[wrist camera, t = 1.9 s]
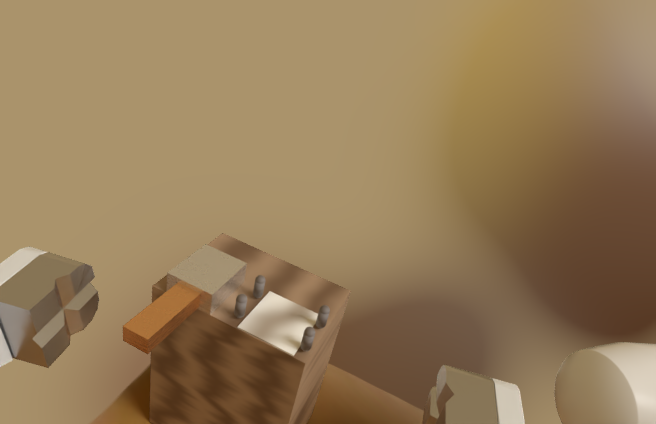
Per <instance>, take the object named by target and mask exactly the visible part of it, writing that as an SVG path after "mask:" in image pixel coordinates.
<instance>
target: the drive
mask: <svg viewBox="0 0 656 424" xmlns="http://www.w3.org/2000/svg"><path fill="white" fill-rule="evenodd" d="M246 266H247V263H246V262H243V261H241V260H239V259H237V258H235V257H233V256H230V255H228V254H226V253H224V252H222V251H220V250H217V249H215V248H213V247H211V246H209V245H207V244H205V245H204V246H203V247H201V248H200V249H198V250H197V251H196V252H194V253H193V254H192V255H190V256H189V257H188V258H187V259H185V260H184V261H183V262H181V263H180V264H178V265H177V266H176V267H174V268H173V269H172V270H170V271H169V272H168V273H167V291H166V292H165V293H164V294H163V295H161V296H160V297H159V298H158V299H156V300H155V301H154V302H153V303H151V304H150V305H149V306H148V307H146V308H145V309H144V310H143V311H141V312H140V313H139V314H138V315H137V316H135V317H134V318H133V319H131V320H130V321H129V322H127V323H126V324H125V325H124V326H123V341H125V342H127V343H129V344H130V345H132V346H134V347H136V348H138V349H139V350H141V351H143V352H145V353H147V354H148V353H149V352H151V351H152V350H153V349H154V348H155V347H156V346H157V345H158V344H159V343H160V342H161V341H162V340H164V339H165V338H166V337H167V336H168V335H169V334H170V333H171V332H172V331H173V330H174V329H176V328H177V327H178V326H179V325H180V324H181V323H182V322H183V321H184V320H185V319H186V318H188V317H189V316H190V315H191V314H192V313H193V312H194V311H195V310H196V309H199V310H201V311H203V312H205V313H207V314H209V315H211V314H212V313H213V312H214V311H215V310H216V309H217V308H218V307H219V306H220V305H221V304H222V303H223V302H224V301H225V300H226V299H227V298H228V297H229V296H230V295H231V294H232V293H233V292H234V291H235V290H236V289H237V288H238V287H239V286H240V285H242V284H243V283H244V279H245V273H246Z"/></svg>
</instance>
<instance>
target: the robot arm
mask: <svg viewBox="0 0 656 424" xmlns="http://www.w3.org/2000/svg"><path fill="white" fill-rule="evenodd" d="M94 277H95V276H94V273H93V269H92V266H90V265H87V264H85V263H81V262H78V261H75V260H72V259H68V258H65V257H62V256H59V255H56V254H52V253H49V252H46V251H42V250H39V249H36V248H32V247H26V248H22V249H20V250H18V251H17V252H16V253H14V254H13V255H11V256H10V257H9V258H8V259H6V260H5V261H3V262H2V263H1V264H0V367H1V366H2V365H5V364H6V363H9V362H10V361H12V360H13V358H15V359H19V360H22V361H26V362H29V363H33V364H36V365H40V366H44V367H47V368H48V367H49V366H50V365H51V364H52V363H53V362H54V361H55V360H56V359H57V358H58V357H59V356H60V355H61V354H62V352H63V351H64V350H65V349H66V348H67V347H68V346H69V345H70V335H72V334H75V333H77V332H79V331H81V330H84V328H85V327H86V326H87V325H88V324H89V323H90V322H91V321H92V319H93V317H94V315H95V313H96V311H97V309H98V301H99V297H98V291H97V290H96V289H95V288H94V286H93V285H92V284H91V283H90V282H91V281H92V280H93V278H94ZM554 395H555V403H556V408H557V411H558V414H559V417H560V419H561V422H562V424H656V344H643V343H625V342H620V343H612V344H606V345H601V346H596V347H591V348H587V349H582V350H578V351H576V352H574V353H572V354H570V355H569V356H568V357H567V358H566V359H565V360H564V361H563V363H562V364H561V366H560V368H559V371H558V373H557V377H556V381H555V390H554ZM423 424H525V421H524V415H523V409H522V402H521V396H520V390H519V388H518V387H517V385H514V384H511V383H507V382H504V381H500V380H497V379H493V378H490V377H487V376H484V375H480V374H476V373H472V372H469V371H465V370H461V369H458V368H454V367H450V366H446V365H443V366H442V367H441V368H440V371H439V373H438V375H437V386H435V387H433V388H431V391H430V393H429V396H428V398H427V402H426V406H425V409H424V416H423Z"/></svg>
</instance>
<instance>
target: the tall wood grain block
mask: <svg viewBox="0 0 656 424" xmlns="http://www.w3.org/2000/svg"><path fill="white" fill-rule="evenodd" d="M207 245H209V246H211V247H213V248H215V249H217V250H220V251H222V252H224V253H226V254H228V255H230V256H233V257H235V258H237V259H239V260H241V261H243V262H246V263H247V266H246V273H245V279H244V283H243V284H242V285H240V286H239V287H238V288H237V289H236V290H235V291H234V292H233V293H232V294H231V295H230V296H229V297H228V298H227V299H226V300H225V301H224V302H223V303H222V304H221V305H220V306H219V307H218V308H217V309H216V310H215V311H214V312H213V313H212V314H211V315H209V314H207V313H205V312H203V311H201V310H199V309H196V310H195V311H194V312H193V313H192V314H191V315H190V316H189V317H188V318H186V319H185V320H184V321H183V322H182V323H181V324H180V325H179V326H178V327H177V328H176V329H174V330H173V331H172V332H171V333H170V334H169V335H168V336H167V337H166V338H165V339H164V340H162V341H161V342H160V343H159V344H158V345H157V346H156V347H155V348H154V349H153V350H152V351H151V372H150V417H149V422H150V423H152V424H307V422H308V420H309V418H310V417H311V415H312V413H313V409H314V406H315V403H316V400H317V397H318V394H319V390H320V387H321V384H322V381H323V378H324V375H325V372H326V368H327V365H328V362H329V359H330V356H331V353H332V349H333V346H334V343H335V340H336V336H337V334H338V330H339V327H340V324H341V321H342V318H343V315H344V311H345V308H346V305H347V302H348V299H349V296H350V292H351V291H350V290H347V289H345V288H343V287H341V286H339V285H336V284H334V283H332V282H330V281H327V280H325V279H323V278H321V277H319V276H316V275H314V274H312V273H310V272H308V271H305V270H303V269H300V268H299V267H297V266H294V265H292V264H290V263H287V262H285V261H283V260H281V259H279V258H277V257H274V256H272V255H270V254H268V253H266V252H263V251H261V250H259V249H257V248H254V247H252V246H250V245H248V244H246V243H243V242H241V241H239V240H237V239H235V238H232V237H230V236H228V235H225V234H223V233H222V234H221V235H219V236H218V237H217V238H215V239H214V240H213V241H212V242H210V243H209V244H207ZM166 291H167V275H166V276H165V277H164V278H162V279H161V280H160V281H158V282H157V283H156V284H154V285H153V286H152V303H153V302H154V301H155V300H156V299H158V298H159V297H160V296H161V295H163V294H164V293H165V292H166Z"/></svg>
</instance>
